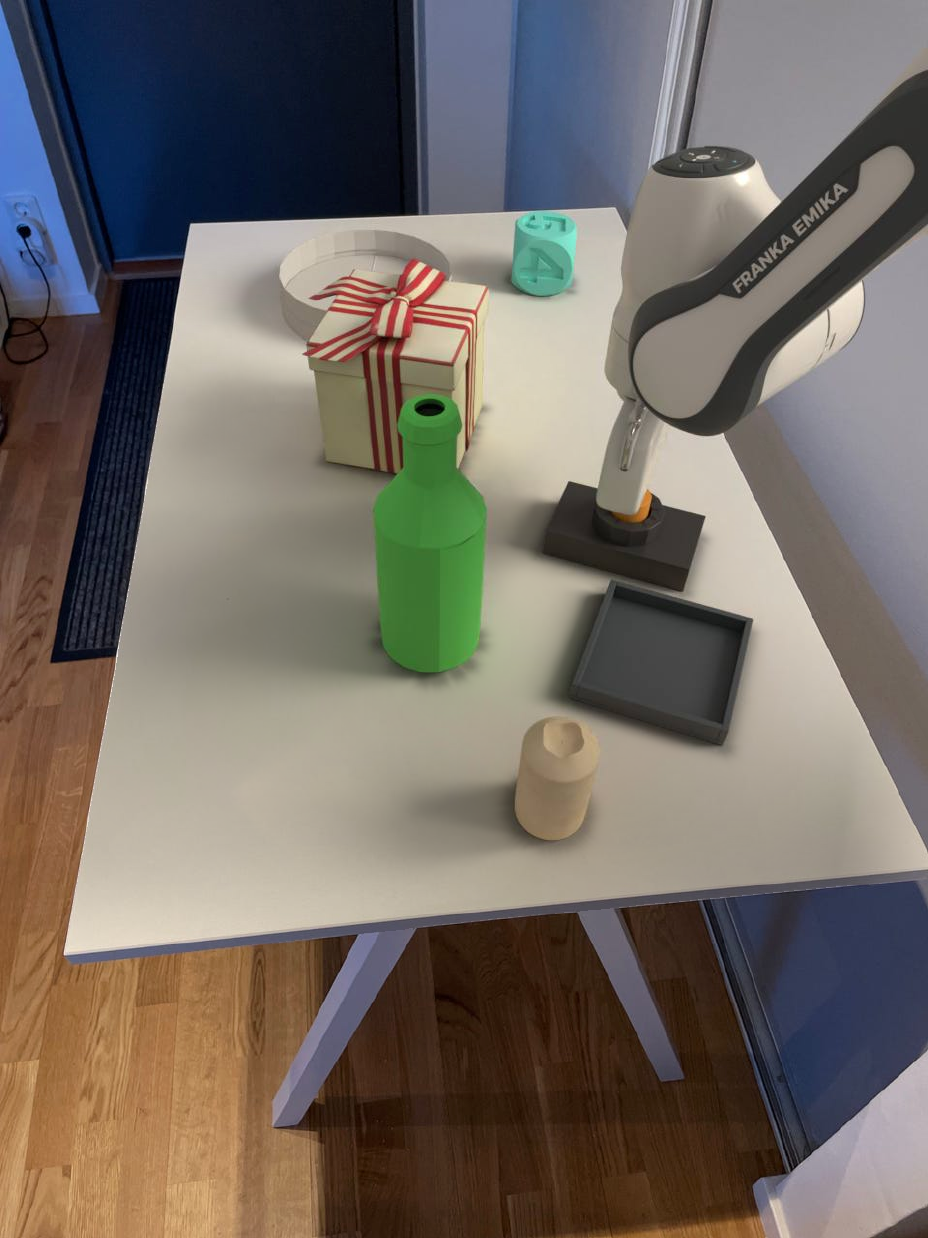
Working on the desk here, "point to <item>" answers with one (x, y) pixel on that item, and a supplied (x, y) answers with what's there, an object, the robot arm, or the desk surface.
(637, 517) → the orange button cap
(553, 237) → the decorative dice
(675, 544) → the button base
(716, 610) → the soap tray
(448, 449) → the bottle
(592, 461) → the desk surface
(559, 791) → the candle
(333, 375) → the gift box
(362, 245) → the dish
